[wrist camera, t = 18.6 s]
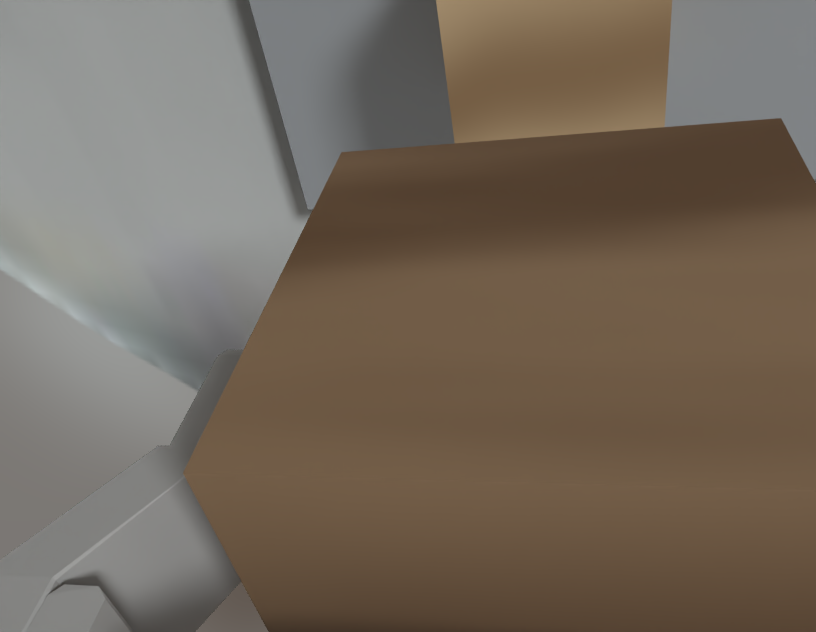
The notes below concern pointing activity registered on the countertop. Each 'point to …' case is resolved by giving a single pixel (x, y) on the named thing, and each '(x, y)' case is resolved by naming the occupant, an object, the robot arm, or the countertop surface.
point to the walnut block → (534, 392)
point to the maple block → (554, 66)
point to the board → (427, 86)
